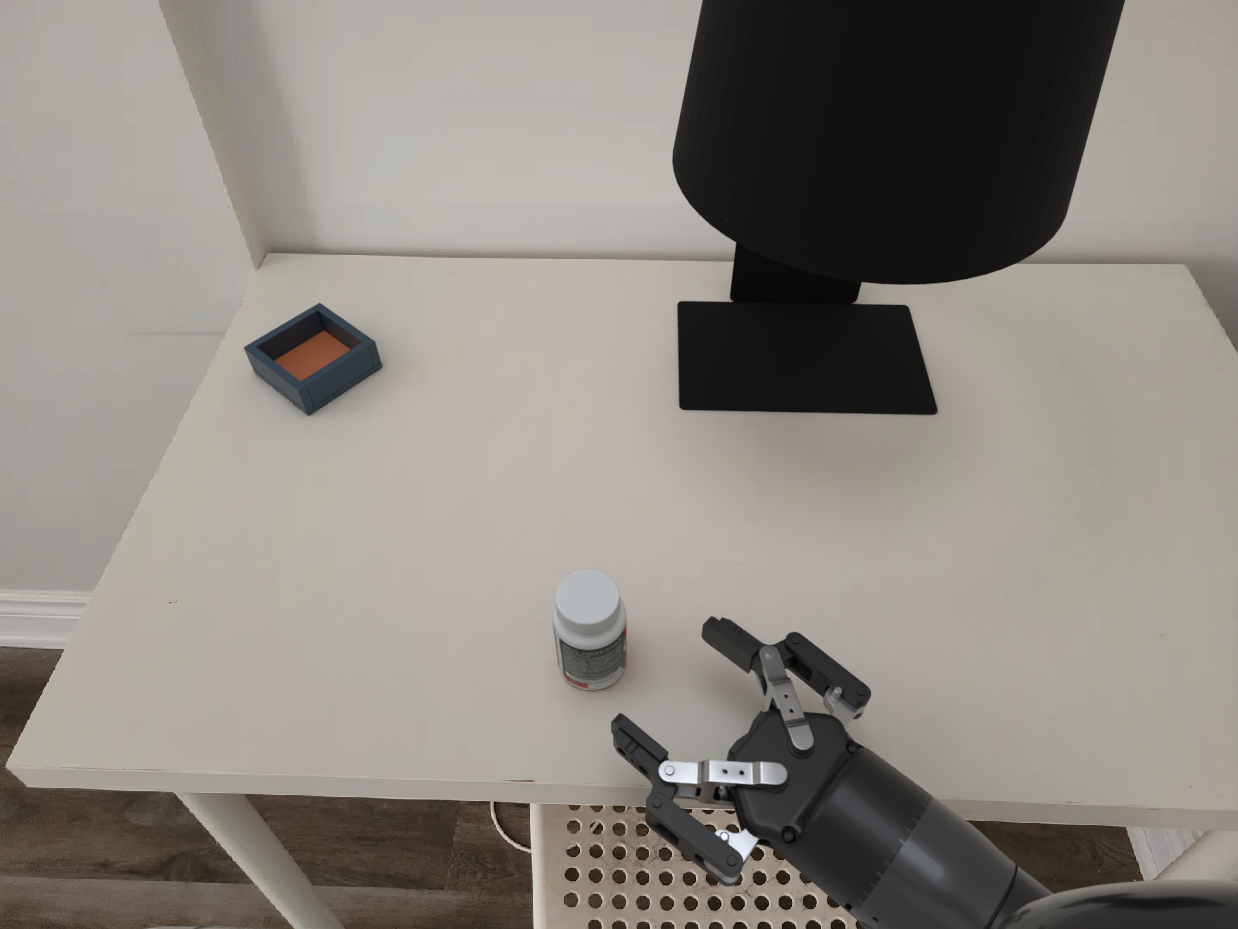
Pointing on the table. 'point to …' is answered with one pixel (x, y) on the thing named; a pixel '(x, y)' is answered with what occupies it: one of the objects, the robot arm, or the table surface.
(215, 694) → the table surface
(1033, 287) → the table surface
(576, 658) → the pill bottle
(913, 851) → the robot arm
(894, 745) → the table surface
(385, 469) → the table surface
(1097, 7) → the table lamp
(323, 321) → the tray
